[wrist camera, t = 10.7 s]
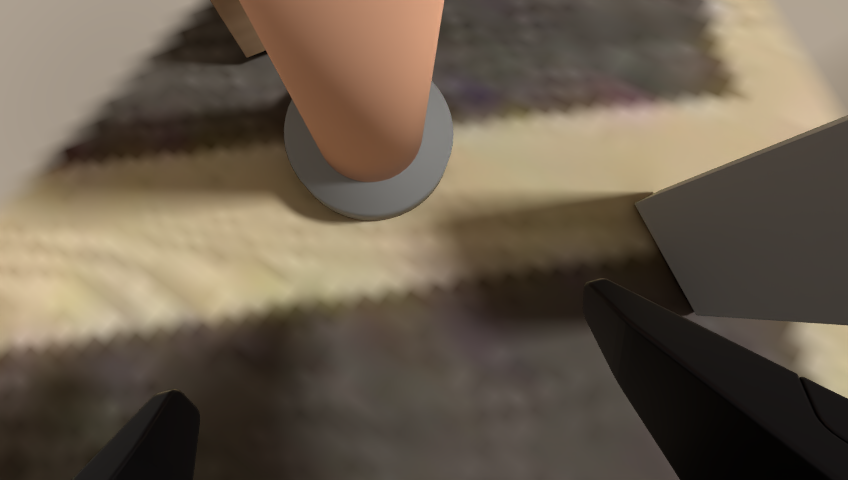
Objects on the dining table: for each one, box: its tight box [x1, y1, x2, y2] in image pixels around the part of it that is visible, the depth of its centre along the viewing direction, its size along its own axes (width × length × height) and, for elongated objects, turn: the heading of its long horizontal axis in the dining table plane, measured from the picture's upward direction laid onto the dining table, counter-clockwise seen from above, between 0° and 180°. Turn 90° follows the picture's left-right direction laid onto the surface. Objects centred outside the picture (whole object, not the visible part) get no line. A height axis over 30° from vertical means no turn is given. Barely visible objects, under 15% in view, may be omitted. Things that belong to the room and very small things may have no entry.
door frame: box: [634, 115, 848, 325], centre depth 14 cm, size 24×2×10 cm, turn 26°
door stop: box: [239, 0, 453, 220], centre depth 11 cm, size 7×7×14 cm
